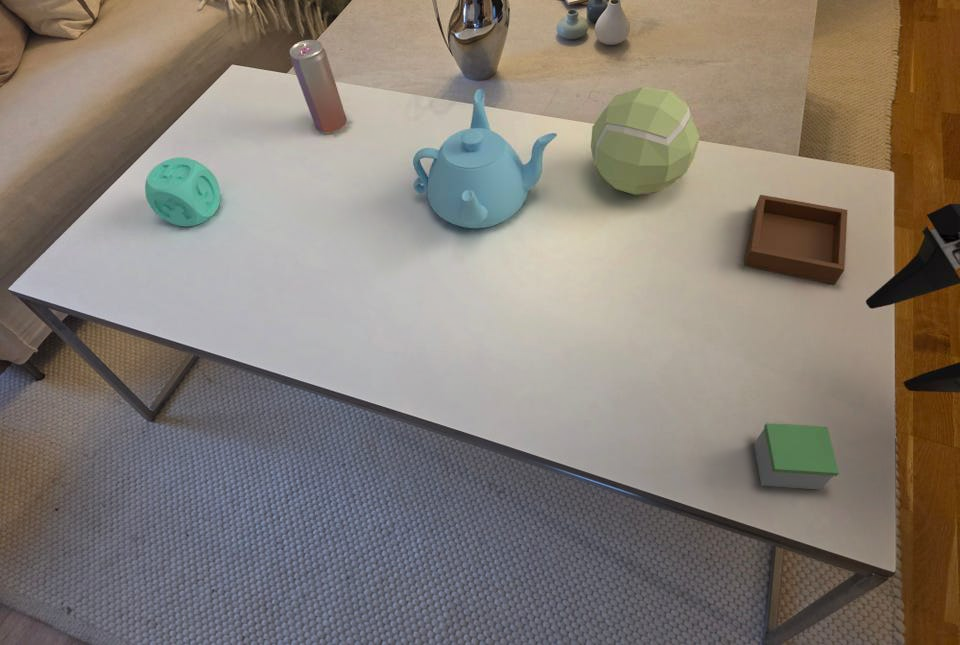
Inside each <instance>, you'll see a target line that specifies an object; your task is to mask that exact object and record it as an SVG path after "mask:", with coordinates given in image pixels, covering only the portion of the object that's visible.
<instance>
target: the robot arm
mask: <svg viewBox="0 0 960 645" xmlns="http://www.w3.org/2000/svg"><path fill="white" fill-rule="evenodd" d="M926 216H927V218H928V220H929V221H930V223H931V225H932V226H933V227H934V229H931V230H930V229H929V227H928V226H927V225H926V226H925V227H924V228H923V229H922V235H923V240H922V241H921V245H920V246H919V249H918V251H917V253H916V255H914V256H913V258H912V259H910V261H909V262H908V263H907V264H905V266H904V267H903V268H902V269H901V270H900V271H898V272H897V273H895V275H894V276H892V277H891V278H890V279H888V281H887V282H885V283H884V284H883V285H882V286H881V287H880V288H878V289H877V290H876V291H875V292H873V293H872V294H871V295H870V296H869V297H867V299H866V300H865V303H866V305H867V307H868V308H869V309H870V310H871V309H877V308H882V307H887V306H890V305H891V306H892V305H894V304H898V303H901V302H905V301H907V300H911V299H914V298H918V297H920V296H923V295H927V294H930V293H933V292H936V291H940V290H943V289H946V288H950V287H952V286H953V287H954V286H956V285H959V284H960V275H959V274H958V273H957V271H956V270H959V269H960V203H949V204H946V205H943V206H941V207H939V208H937V209H935V210H933V211H931V212H929V213H927V214H926ZM902 384H903V386H904V388H905V389H906V390H907V391H910V392H926V393H927V392H928V393H929V392H931V393H959V394H960V361H959V362H956V363H952V364H949V365H946V366H943V367H939V368H937V369H933V370H930V371H927V372H924V373H920V374H918V375H916V376H914V377H912V378H909V379H906V380H905V381H903V382H902Z"/></svg>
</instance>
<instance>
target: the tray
mask: <svg viewBox="0 0 960 645" xmlns="http://www.w3.org/2000/svg"><path fill="white" fill-rule="evenodd" d="M847 227H848V209H845V208H838V207H833V206H829V205H828V206H827V205H822V204H816V203H811V202H806V201H805V202H804V201H799V200H795V199H794V200H793V199H788V198H781V197H776V196H770V195H766V194H759V197H758V199H757V201H756V204H755V206H754V209H753V212H752V220H751V225H750V231H749V237H748V243H747V248H746V255H745V260H744V267H749V268H752V269H753V268H754V269H759V270H763V271H769V272H773V273H777V274H783V275H786V276H787V275H788V276H792V277H797V278H800V279H801V278H802V279H806V280H812V281H815V282H819V283H826V284H832V285H836V284H837V283H838V281H839V279H840V278H841V277H842V274H843V273H844V271H845V270H846V251H847V250H846V249H847V248H846V247H847V231H848V230H847Z"/></svg>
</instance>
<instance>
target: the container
mask: <svg viewBox="0 0 960 645" xmlns="http://www.w3.org/2000/svg"><path fill="white" fill-rule="evenodd" d="M753 447H754V452H755V458H756V463H757V469H758V475H759V481H760V485H761V486H762V487H763V486H764V487H778V488H790V489H791V488H793V489H807V490H821V489H822V488H823V487H824V486H825V485H826V484H827V483H828V482H829V481H831V479H832V478H833V477H837V476H838V475H839V474H840V471H839V467H838V463H837V459H836V455H835V450H834V446H833V443H832V438H831V435H830V431H829V427H828V426H823V425H804V424H787V423H769V422H767V423H765V424H764V426H763V430H762V431H761V433H760V434H759V435H758V436H757V438H756V440H755V441H754V442H753Z"/></svg>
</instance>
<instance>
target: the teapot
mask: <svg viewBox="0 0 960 645" xmlns="http://www.w3.org/2000/svg"><path fill="white" fill-rule="evenodd" d="M471 115H472V116H471V122H470V128H467V129H466V128H465V129H463V130H460V131H459V130H458V131H457V132H455V133H453V134H451V135H450V136H448V138H447V139H446V140H445V141H444V142H443V143H442V144H441V146H440V148H439V149H437V148H434V147H423V148H421V149H419V150H418V151H417V152H416V153H415V155H414V156H413V159H412V163H413V168H414V171H415V173H416V175H417V177H418V178H416V179H415V180H414V182H413V190H414V191H415V193H418V194H419V195H423V196H425V195H427V198H428V202H429V205H430V206H431V208H432V209H433V211H434V213H435V214H437V216H439V217H440V218H441V219H443V220H444V221H446V222H448V223H450V224H452V225H454V226H458V227H460V228H465V229H485V228H490V227H493V226H496V225H497V226H498V225H499V224H502V223H503V222H505V221H506V220H508V219H510V218H511V217H512V216H513V215H514V214H516V213H517V212H518V211H519V210H520V209H521V207H522V206H523V205H524V202H525V201H526V198H527V196H528V193H529V191H530V190H531V189H533V188H534V187H535V186H536V185H537V184H538V183H539V181H540V179H541V176H542V172H543V158H544V152H545V149H546V147H547V146H548V144H550V143H551V142H552V141H553V140H554V139H556V137H557V136H558V134H557V133H556V132H550V133H547V134H544V135H542V136H540V137H539V138H537V139H536V140H535V142H534V143H533V145H532V148H531V155H530V159H529V160H528V162H526V163H525V164H523V162H522V160H521V157H520V156H519V155H518V153H517V151H516V150H515V149H514V148H513V146H512V145H511V144H509V142H508V141H507V140H506V139H504V137H502V136H501V135H500V134H498V133H497V132H495V131H493V130H492V129H491V127H490V123H489V120H488V117H487V113H486V108H485V92H484V89H482V88H478V89H476V91H475V93H474V96H473V106H472V114H471ZM422 159H433V160H432V163H431V165H430V167H429V168H430V169H429V172H428V174H427V173H426V171H425V169H424V167H423V165H422V162H421V160H422Z"/></svg>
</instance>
